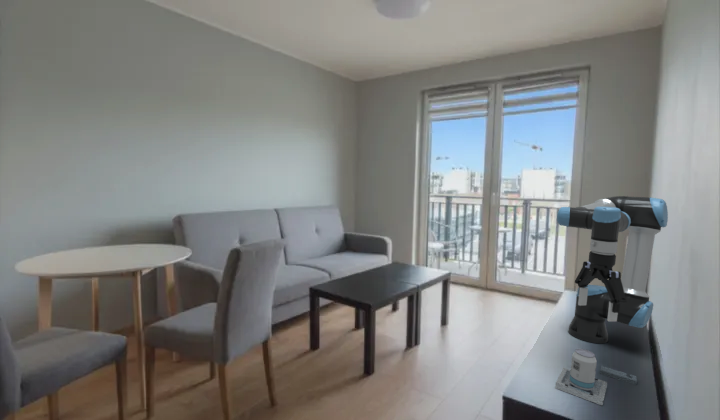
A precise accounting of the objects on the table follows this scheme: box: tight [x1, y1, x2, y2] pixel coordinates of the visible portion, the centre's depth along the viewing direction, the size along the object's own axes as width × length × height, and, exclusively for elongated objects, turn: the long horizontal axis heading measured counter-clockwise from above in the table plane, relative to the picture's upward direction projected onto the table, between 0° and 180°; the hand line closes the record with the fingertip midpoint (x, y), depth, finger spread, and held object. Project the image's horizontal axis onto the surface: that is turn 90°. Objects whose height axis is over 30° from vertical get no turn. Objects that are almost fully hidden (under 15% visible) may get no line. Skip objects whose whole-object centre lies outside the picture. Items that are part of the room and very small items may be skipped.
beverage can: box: [569, 348, 598, 391], centre depth 118 cm, size 7×7×12 cm
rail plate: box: [554, 367, 608, 406], centre depth 118 cm, size 13×13×2 cm
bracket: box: [600, 365, 638, 386], centre depth 126 cm, size 4×10×2 cm, turn 53°
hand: (596, 312), depth 122 cm, fingers open, 13 cm apart
